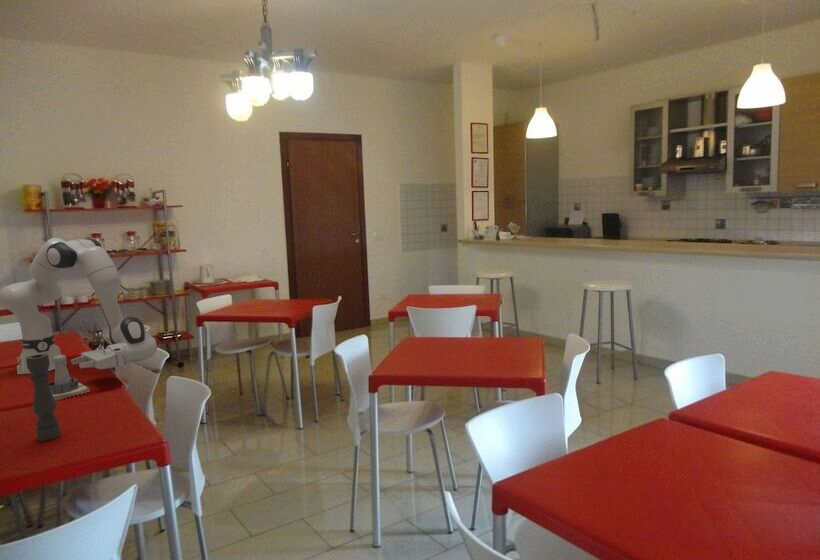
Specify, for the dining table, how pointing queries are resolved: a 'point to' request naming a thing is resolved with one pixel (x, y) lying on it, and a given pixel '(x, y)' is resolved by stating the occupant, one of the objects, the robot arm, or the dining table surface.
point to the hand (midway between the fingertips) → (75, 363)
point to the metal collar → (63, 387)
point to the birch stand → (72, 392)
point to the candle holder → (43, 398)
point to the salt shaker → (61, 371)
